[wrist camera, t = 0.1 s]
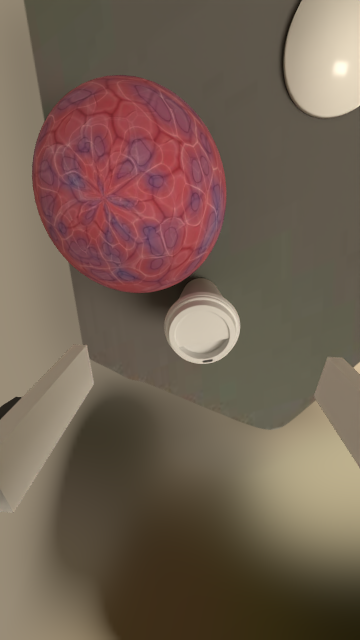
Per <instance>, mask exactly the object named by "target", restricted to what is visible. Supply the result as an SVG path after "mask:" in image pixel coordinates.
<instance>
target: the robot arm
mask: <svg viewBox="0 0 360 640" xmlns="http://www.w3.org/2000/svg"><path fill="white" fill-rule="evenodd" d="M93 384H94V381H93V375H92V370H91V365H90V359H89V354H88V349H87V345H73V346H72V347H71V348H70V349H69V350H68V351H67V352H66V353H65V354H64V355H63V356H62V357H61V358H60V359H59V360H58V361H57V362H56V363H55V364H54V365H53V366H52V367H51V368H50V369H49V370H48V371H47V372H46V374H44V375H43V376H42V378H40V380H39V381H38V382H37V383H36V384H35V385H34V386H33V387H32V388H31V389H30V390H29V391H28V392H27V393H26V394H25V395H24V396H23V397H15V398H14V399H12V400H10V401H9V402H7V403H6V404H4V405H3V406H1V407H0V511H2V512H12V513H13V512H14V511H15V509H16V508H17V506H18V505H19V503H20V502H21V500H22V498H23V497H24V495H25V494H26V492H27V490H28V489H29V487H30V485H31V484H32V482H33V481H34V479H35V478H36V476H37V474H38V473H39V471H40V469H41V468H42V466H43V465H44V463H45V461H46V460H47V458H48V457H49V455H50V453H51V452H52V450H53V449H54V447H55V445H56V444H57V442H58V441H59V439H60V437H61V436H62V434H63V433H64V431H65V429H66V427H67V426H68V425H69V423H70V421H71V420H72V418H73V416H74V415H75V413H76V412H77V410H78V408H79V407H80V405H81V404H82V402H83V400H84V399H85V397H86V396H87V394H88V392H89V391H90V389H91V388H92V386H93ZM314 398H315V399H316V401H317V402H318V404H319V405H320V407H321V408H322V410H323V412H324V413H325V415H326V416H327V418H328V419H329V421H330V423H331V424H332V426H333V427H334V429H335V430H336V432H337V433H338V435H339V436H340V438H341V440H342V441H343V443H344V444H345V446H346V447H347V449H348V450H349V452H350V454H351V455H352V457H353V458H354V459H355V461H356V463H357V464H358V466H359V467H360V374H359V373H358V372H357V371H356V370H355V369H354V368H353V367H352V366H351V365H350V364H349V363H348V362H347V361H345V360H344V359H343V358H338V357H327V360H326V363H325V366H324V369H323V372H322V374H321V377H320V380H319V383H318V386H317V389H316V392H315V395H314Z"/></svg>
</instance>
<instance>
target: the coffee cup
mask: <svg viewBox="0 0 360 640" xmlns="http://www.w3.org/2000/svg"><path fill="white" fill-rule="evenodd" d="M164 331H165V335H166V338H167V341H168V343H169V345H170V346H171V347H172V349H173V350H174V351H175V352H176V353H177V354H178V355H179V356H180V357H182V358H183V359H185V360H187V361H189V362H193V363H198V364H207V363H212V362H215V361H218V360H220V359H221V358H223V357H224V356H226V355H227V354H228V353H229V352H230V350H231V349H232V348H233V347H234V345H235V343H236V342H237V339H238V337H239V332H240V319H239V316H238V313H237V311H236V310H235V308H234V307H233V305H232V304H231V303H230V302H229V301H227V300H226V299H225V298H223V297H222V295H221V293H220V292H219V290H218V289H217V287H216V286H215V284H214V283H213V282H211V281H210V280H208V279H204V278H197V279H194V280H192V281H190V282H189V283H187V285H186V286H185V287H184V289H183V291H182V293H181V295H180V297H179V299H178V300H177V301H176V302H175V303H174V304H173V305H172V306H171V308H170V309H169V311H168V312H167V315H166V317H165V322H164Z"/></svg>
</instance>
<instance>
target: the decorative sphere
mask: <svg viewBox="0 0 360 640" xmlns="http://www.w3.org/2000/svg"><path fill="white" fill-rule="evenodd" d="M32 180H33V190H34V195H35V201H36V205H37V209H38V212H39V215H40V217H41V220H42V223H43V225H44V227H45V229H46V231H47V233H48V234H49V237H50V238H51V240H52V241H53V243H54V245H55V246H56V247H57V249H58V250H59V251H60V253H61V254H62V255H63V256H64V257H65V258H66V259H67V261H68V262H69V263H70V264H71V265H73V266H74V267H75V268H76V269H77V270H78V271H80V272H81V273H82V274H84V275H85V276H87V277H88V278H90V279H91V280H93V281H95V282H97V283H99V284H101V285H103V286H106V287H108V288H112V289H115V290H119V291H124V292H131V293H147V292H154V291H159V290H162V289H165V288H169V287H171V286H173V285H175V284H177V283H179V282H181V281H182V280H184V279H186V278H187V277H188V276H190V275H191V274H192V273H193V272H194V271H196V270H197V269H198V268H199V267H200V266H201V264H202V263H203V262H204V261H205V260H206V258H207V257H208V255H209V254H210V252H211V251H212V249H213V247H214V245H215V243H216V241H217V239H218V236H219V234H220V231H221V228H222V224H223V220H224V215H225V208H226V181H225V174H224V169H223V165H222V161H221V158H220V154H219V152H218V149H217V147H216V144H215V142H214V140H213V138H212V136H211V134H210V133H209V131H208V129H207V127H206V126H205V124H204V123H203V121H202V120H201V119H200V117H199V116H198V115H197V114H196V112H195V111H194V110H193V109H192V108H191V107H190V106H189V105H188V104H187V103H186V102H185V101H184V100H182V99H181V98H180V97H179V96H177V95H176V94H175V93H173V92H172V91H170V90H169V89H167V88H165V87H163V86H161V85H159V84H157V83H155V82H152V81H149V80H146V79H143V78H139V77H135V76H126V75H115V76H105V77H100V78H96V79H93V80H90V81H88V82H85V83H83V84H81V85H80V86H78V87H76V88H74V89H73V90H71V91H70V92H69V93H68V94H66V95H65V96H64V97H63V98H62V99H61V100H60V101H59V102H58V103H57V104H56V105H55V107H54V108H53V109H52V111H51V112H50V113H49V115H48V117H47V118H46V120H45V122H44V124H43V126H42V128H41V130H40V133H39V136H38V139H37V142H36V146H35V151H34V157H33V166H32Z"/></svg>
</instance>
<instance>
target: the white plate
mask: <svg viewBox="0 0 360 640" xmlns="http://www.w3.org/2000/svg"><path fill="white" fill-rule="evenodd" d="M283 72H284V79H285V84H286V87H287V90H288V93H289V95H290V97H291V99H292V101H293V102H294V103H295V105H296V106H297V107H298V108H299V109H300V110H301V111H303V112H304V113H306V114H307V115H310V116H312V117H315V118H321V119H328V118H335V117H339V116H342V115H344V114H347V113H348V112H350V111H352V110H354V109H355V108H357V107H358V106H360V0H302V1H301V3H300V5H299V7H298V9H297V11H296V13H295V15H294V17H293V20H292V22H291V25H290V28H289V31H288V34H287V38H286V42H285V48H284V56H283Z"/></svg>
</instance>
